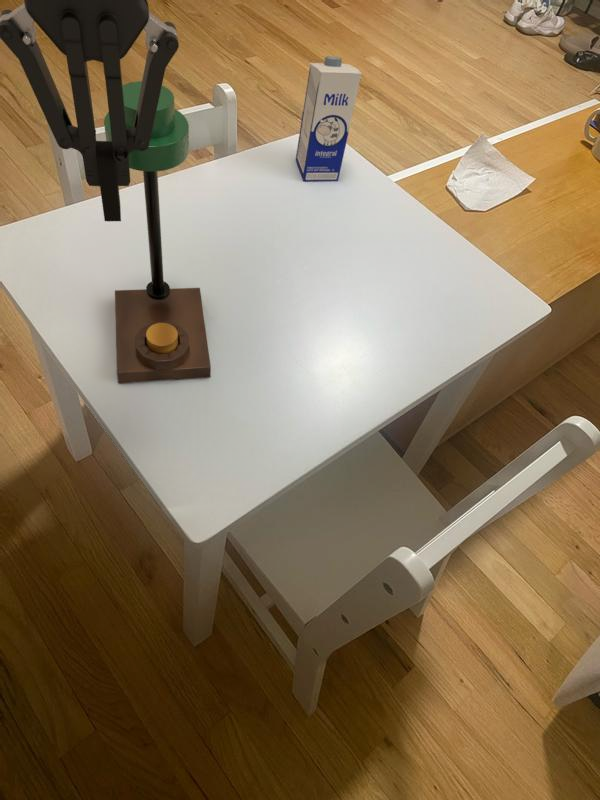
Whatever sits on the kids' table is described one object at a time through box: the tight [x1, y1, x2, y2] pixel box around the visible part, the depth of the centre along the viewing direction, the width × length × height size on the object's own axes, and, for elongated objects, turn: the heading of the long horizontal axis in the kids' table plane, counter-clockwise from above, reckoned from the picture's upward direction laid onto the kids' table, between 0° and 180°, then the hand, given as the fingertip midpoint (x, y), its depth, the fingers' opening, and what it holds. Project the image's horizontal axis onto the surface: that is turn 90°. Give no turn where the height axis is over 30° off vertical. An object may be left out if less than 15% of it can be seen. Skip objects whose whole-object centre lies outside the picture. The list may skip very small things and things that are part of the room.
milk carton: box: [295, 55, 363, 182], centre depth 105 cm, size 7×7×20 cm
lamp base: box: [114, 287, 212, 384], centre depth 83 cm, size 12×15×4 cm
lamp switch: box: [146, 323, 178, 354], centre depth 79 cm, size 4×4×2 cm
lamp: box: [103, 80, 190, 300], centre depth 74 cm, size 9×9×27 cm
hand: (112, 212), depth 57 cm, fingers closed
